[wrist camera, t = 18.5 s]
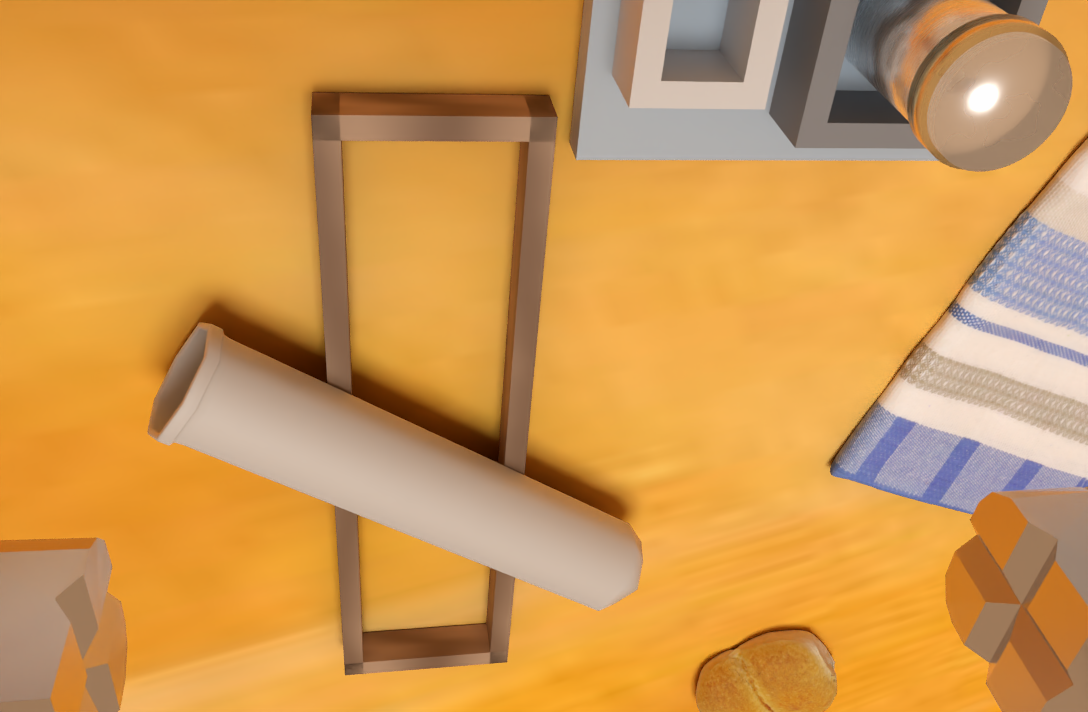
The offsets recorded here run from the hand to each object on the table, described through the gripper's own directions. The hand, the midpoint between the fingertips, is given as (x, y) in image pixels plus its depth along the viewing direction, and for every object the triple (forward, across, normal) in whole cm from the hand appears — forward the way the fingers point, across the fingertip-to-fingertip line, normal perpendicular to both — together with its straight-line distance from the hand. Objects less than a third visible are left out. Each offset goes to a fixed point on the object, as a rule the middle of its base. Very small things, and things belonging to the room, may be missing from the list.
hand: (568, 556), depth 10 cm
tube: (+31, -1, +27) cm, 41 cm away
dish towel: (+32, -34, +21) cm, 51 cm away
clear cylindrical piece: (+30, -18, +5) cm, 35 cm away
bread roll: (+32, -23, +47) cm, 61 cm away
